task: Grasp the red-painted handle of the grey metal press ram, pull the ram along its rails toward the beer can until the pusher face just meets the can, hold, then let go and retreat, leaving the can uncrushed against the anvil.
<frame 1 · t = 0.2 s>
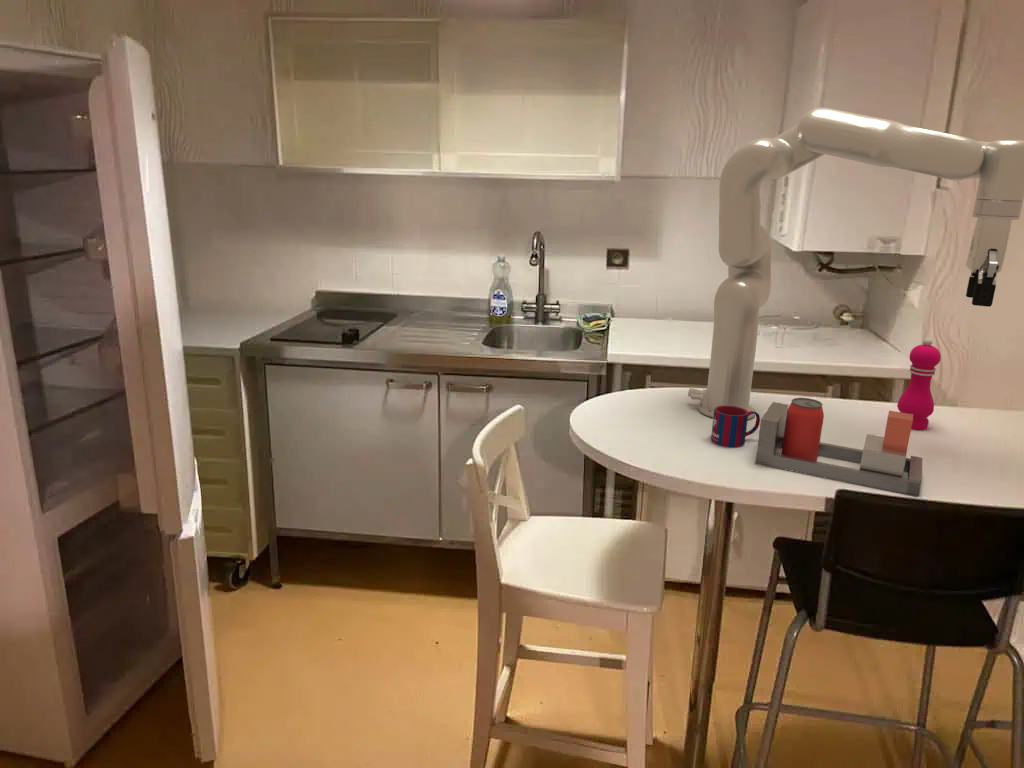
hand: (978, 301, 147), 31 cm above the table, tool pointing down, fingers open, 9 cm apart
press frame: (836, 468, 146), on the table
pepper mill: (911, 426, 171), on the table
ram: (885, 444, 141), point 6 cm above the table, slide at 0.0 cm
beer can: (798, 461, 149), resting in press frame
mug: (735, 442, 158), on the table
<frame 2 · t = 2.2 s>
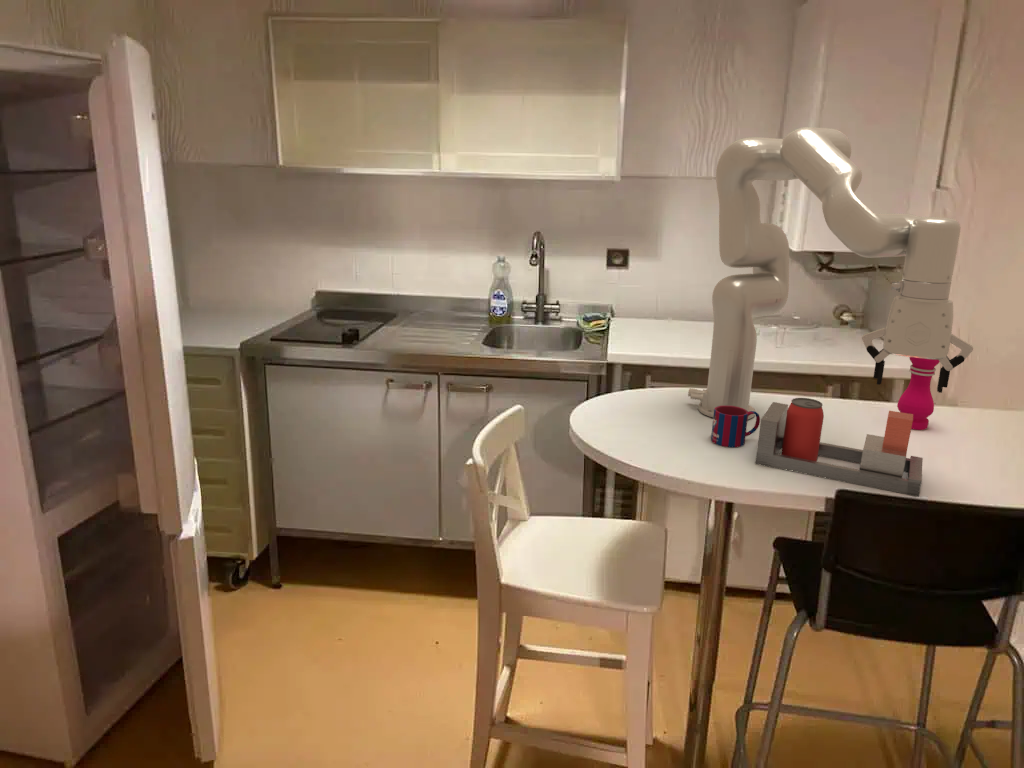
hand: (908, 386, 136), 18 cm above the table, tool pointing down, fingers open, 9 cm apart
nothing on the table moved.
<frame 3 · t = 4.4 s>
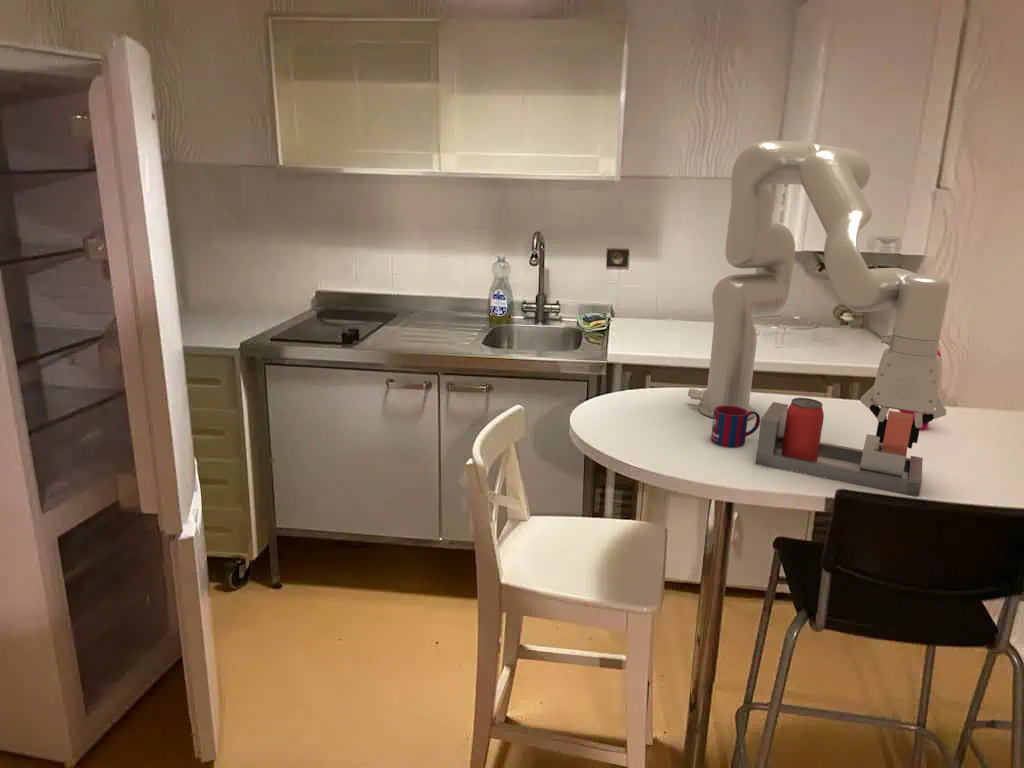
hand: (895, 442, 140), 7 cm above the table, tool pointing down, fingers closed on ram, 4 cm apart
ram: (885, 444, 141), point 6 cm above the table, slide at 0.0 cm, touching gripper
everything else where it was.
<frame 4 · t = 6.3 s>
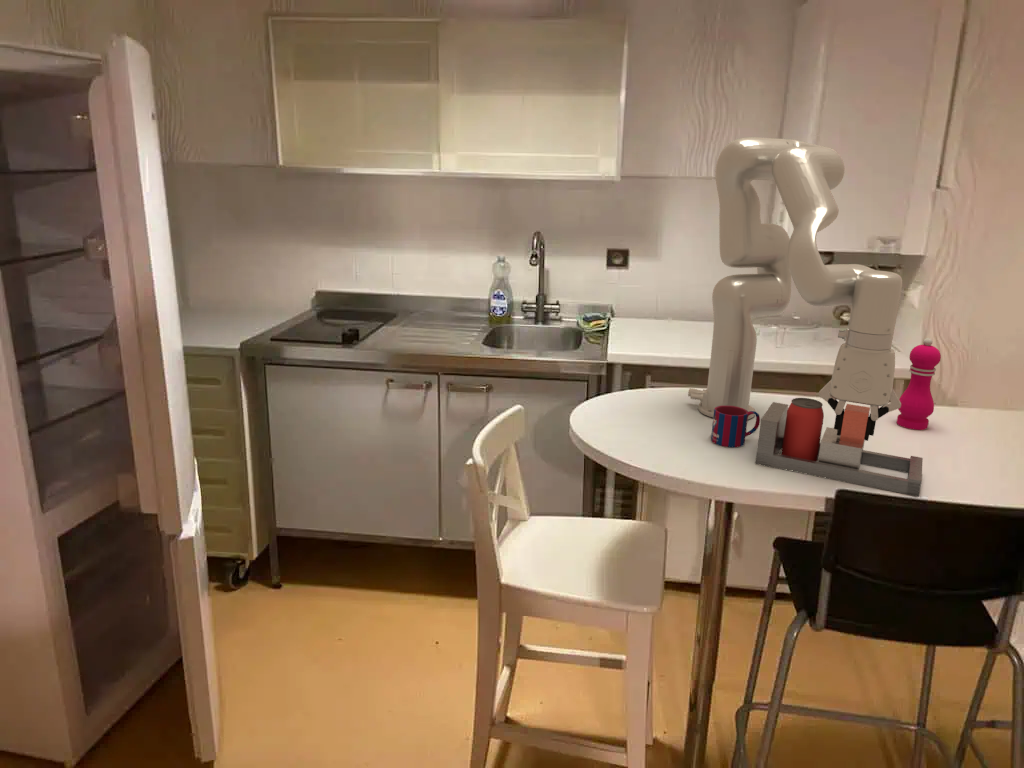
hand: (853, 434, 143), 7 cm above the table, tool pointing down, fingers closed on ram, 4 cm apart
ram: (843, 437, 144), point 6 cm above the table, slide at 7.2 cm, touching gripper
everything else where it was.
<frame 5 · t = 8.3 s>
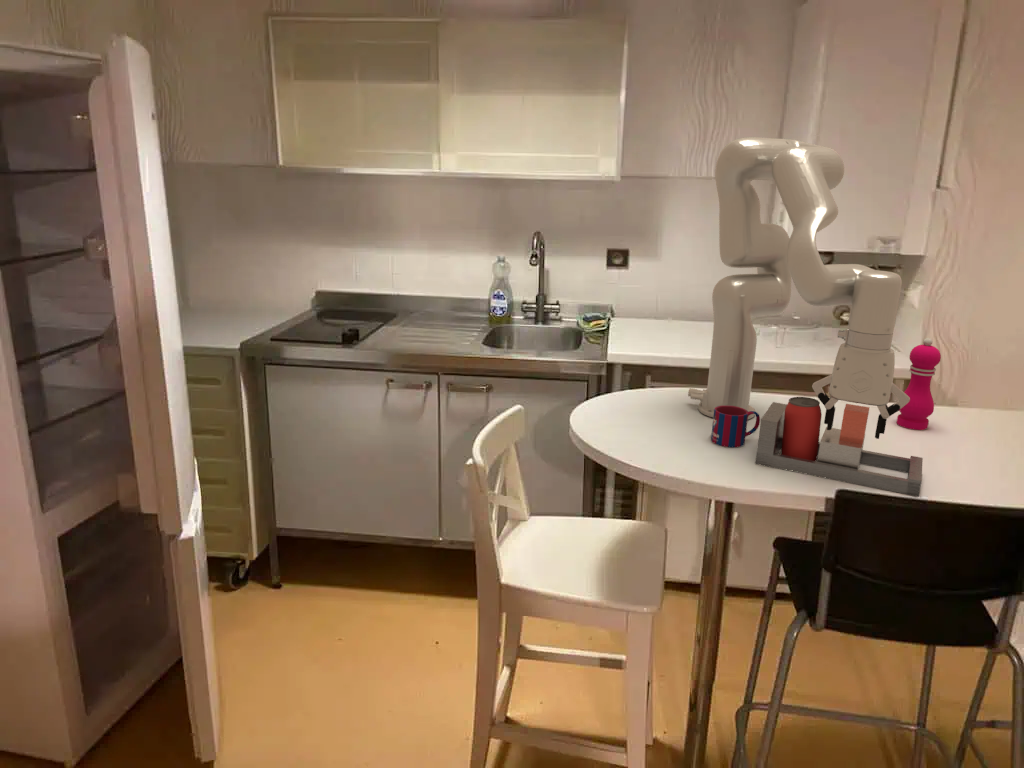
hand: (853, 431, 143), 8 cm above the table, tool pointing down, fingers open, 7 cm apart
ram: (843, 437, 144), point 6 cm above the table, slide at 7.3 cm
beer can: (798, 460, 149), resting in press frame, touching gripper
everything else where it was.
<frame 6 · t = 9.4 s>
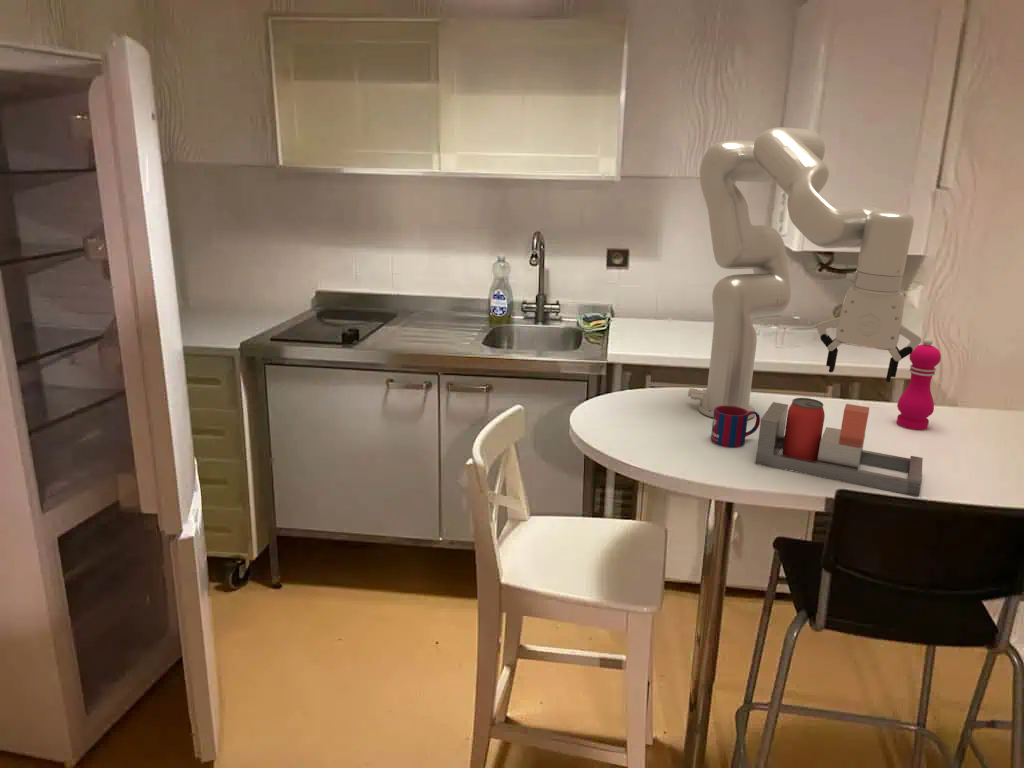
hand: (859, 375, 140), 18 cm above the table, tool pointing down, fingers open, 9 cm apart
beer can: (799, 461, 149), resting in press frame
everything else where it was.
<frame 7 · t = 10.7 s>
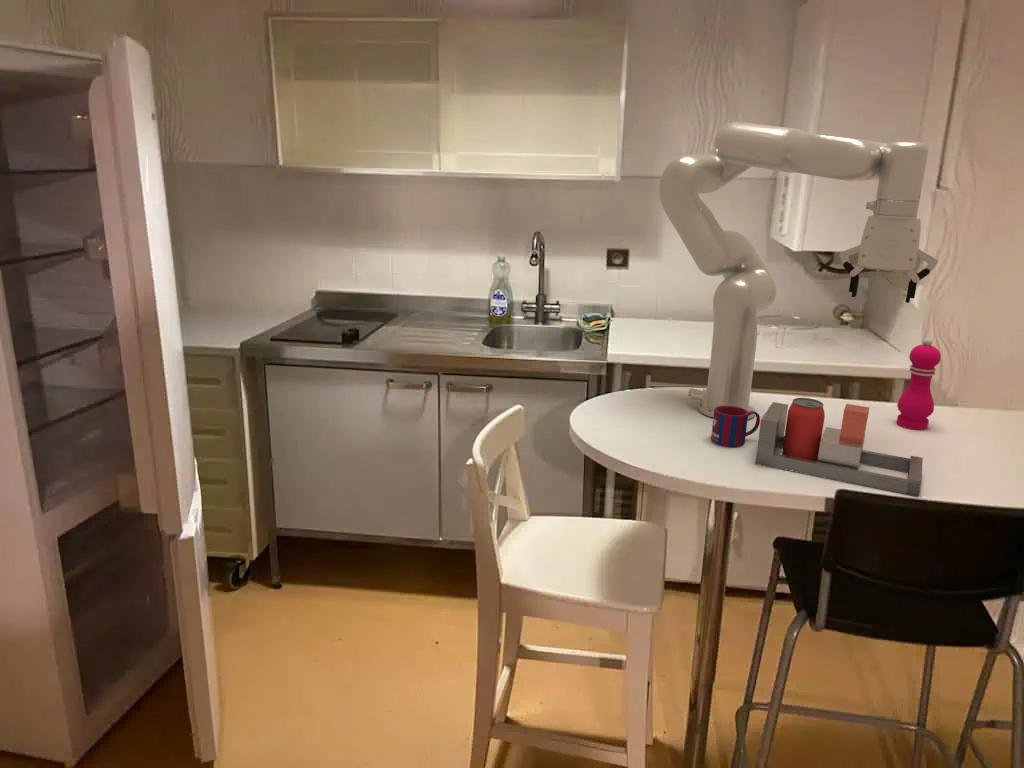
hand: (880, 298, 150), 30 cm above the table, tool pointing down, fingers open, 9 cm apart
nothing on the table moved.
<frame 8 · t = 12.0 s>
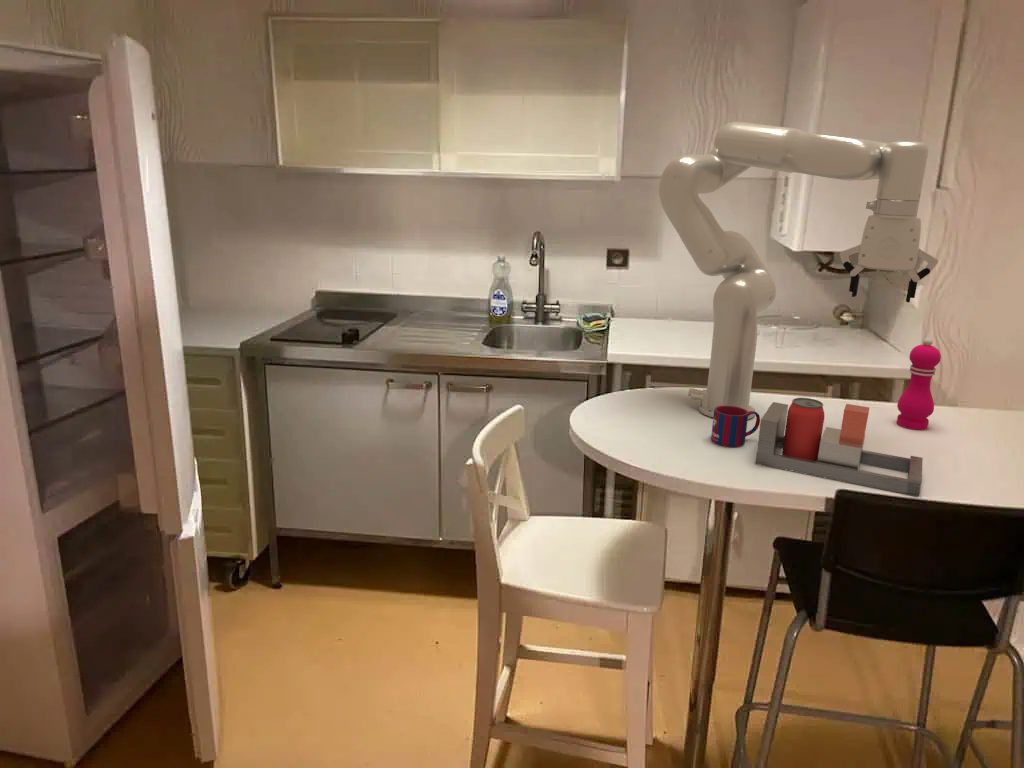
hand: (880, 298, 151), 30 cm above the table, tool pointing down, fingers open, 9 cm apart
nothing on the table moved.
at the end: ram slide at 7.3 cm; beer can moved 0.3 cm from its start; beer can tilted 0° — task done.
